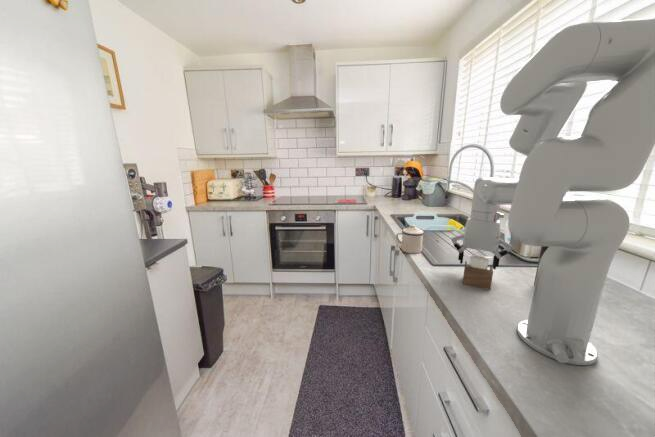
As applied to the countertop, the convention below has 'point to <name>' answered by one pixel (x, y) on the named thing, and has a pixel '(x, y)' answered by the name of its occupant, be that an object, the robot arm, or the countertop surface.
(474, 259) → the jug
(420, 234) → the teacup with lid
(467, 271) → the caddy
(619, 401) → the countertop surface
